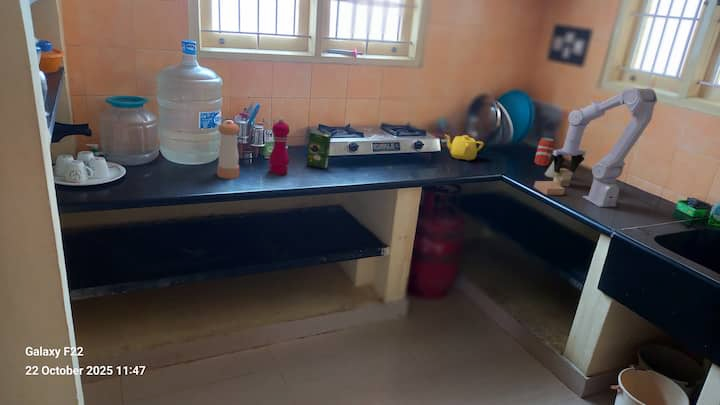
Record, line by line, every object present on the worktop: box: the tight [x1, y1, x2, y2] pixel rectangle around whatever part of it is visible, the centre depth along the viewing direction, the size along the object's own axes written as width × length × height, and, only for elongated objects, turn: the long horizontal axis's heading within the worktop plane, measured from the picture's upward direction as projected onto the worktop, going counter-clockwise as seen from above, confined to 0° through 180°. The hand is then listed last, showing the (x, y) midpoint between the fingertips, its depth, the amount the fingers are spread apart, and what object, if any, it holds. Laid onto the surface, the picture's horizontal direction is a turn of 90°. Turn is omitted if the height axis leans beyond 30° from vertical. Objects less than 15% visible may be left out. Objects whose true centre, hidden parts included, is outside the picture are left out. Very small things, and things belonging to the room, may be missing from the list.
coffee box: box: [306, 130, 332, 170], centre depth 195 cm, size 8×3×13 cm, turn 70°
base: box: [533, 180, 566, 196], centre depth 202 cm, size 8×8×2 cm
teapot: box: [444, 134, 485, 162], centre depth 229 cm, size 14×13×10 cm
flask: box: [544, 155, 564, 179], centre depth 219 cm, size 7×7×10 cm
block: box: [552, 168, 574, 187], centre depth 211 cm, size 4×4×6 cm
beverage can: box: [533, 137, 555, 167], centre depth 233 cm, size 6×6×12 cm
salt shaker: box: [216, 120, 241, 180], centre depth 175 cm, size 7×7×19 cm
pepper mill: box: [268, 117, 290, 176], centre depth 184 cm, size 7×7×20 cm
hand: (563, 172), depth 210 cm, fingers open, 7 cm apart
